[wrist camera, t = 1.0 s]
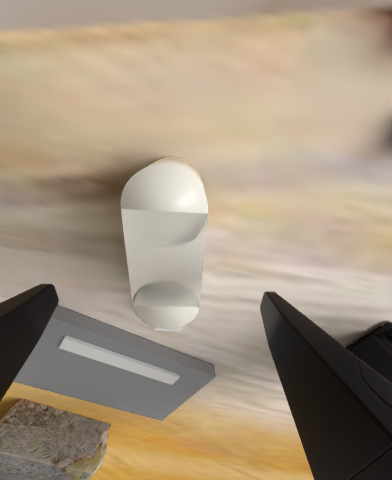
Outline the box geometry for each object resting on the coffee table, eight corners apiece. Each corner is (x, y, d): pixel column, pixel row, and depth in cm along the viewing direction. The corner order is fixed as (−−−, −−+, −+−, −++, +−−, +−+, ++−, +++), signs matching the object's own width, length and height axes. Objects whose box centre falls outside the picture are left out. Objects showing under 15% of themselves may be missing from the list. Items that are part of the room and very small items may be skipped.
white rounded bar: (205, 158, 12) (211, 168, 8) (194, 305, 18) (194, 353, 14) (140, 154, 12) (115, 162, 8) (150, 303, 18) (137, 352, 14)
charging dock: (214, 365, 22) (215, 379, 21) (162, 409, 27) (161, 423, 25) (39, 298, 17) (26, 311, 16) (12, 366, 21) (0, 381, 20)
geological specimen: (-27, 448, 20) (105, 484, 24) (22, 384, 26) (123, 421, 29) (-47, 481, 23) (71, 508, 27) (0, 418, 29) (92, 447, 33)
